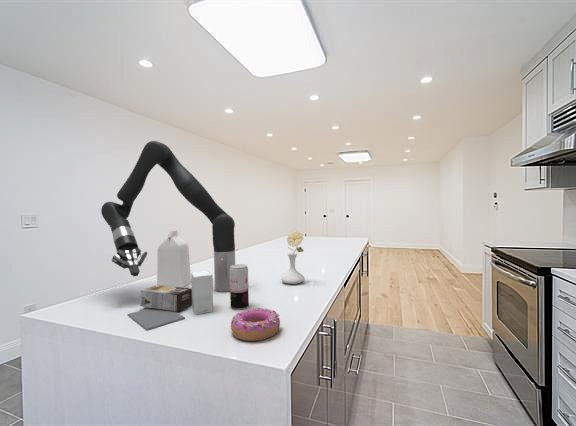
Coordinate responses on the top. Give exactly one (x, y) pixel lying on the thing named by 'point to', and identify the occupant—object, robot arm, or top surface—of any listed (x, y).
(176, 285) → the milk
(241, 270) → the beverage can
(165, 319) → the mat
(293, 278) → the flower in vase
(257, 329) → the donut
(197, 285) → the small box
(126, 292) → the top surface
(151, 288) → the coffee box
